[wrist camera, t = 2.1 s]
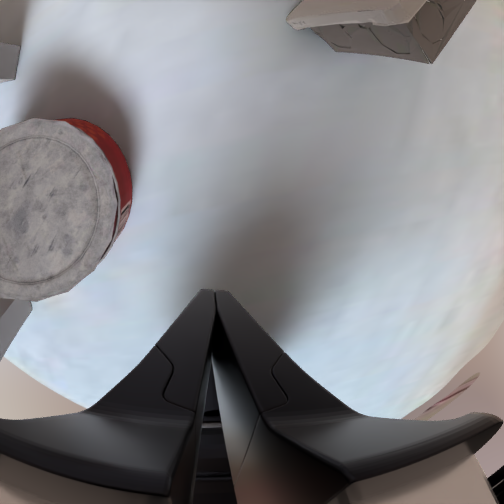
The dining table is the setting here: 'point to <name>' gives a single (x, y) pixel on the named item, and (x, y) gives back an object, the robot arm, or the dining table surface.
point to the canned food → (58, 204)
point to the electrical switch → (383, 25)
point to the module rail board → (3, 310)
